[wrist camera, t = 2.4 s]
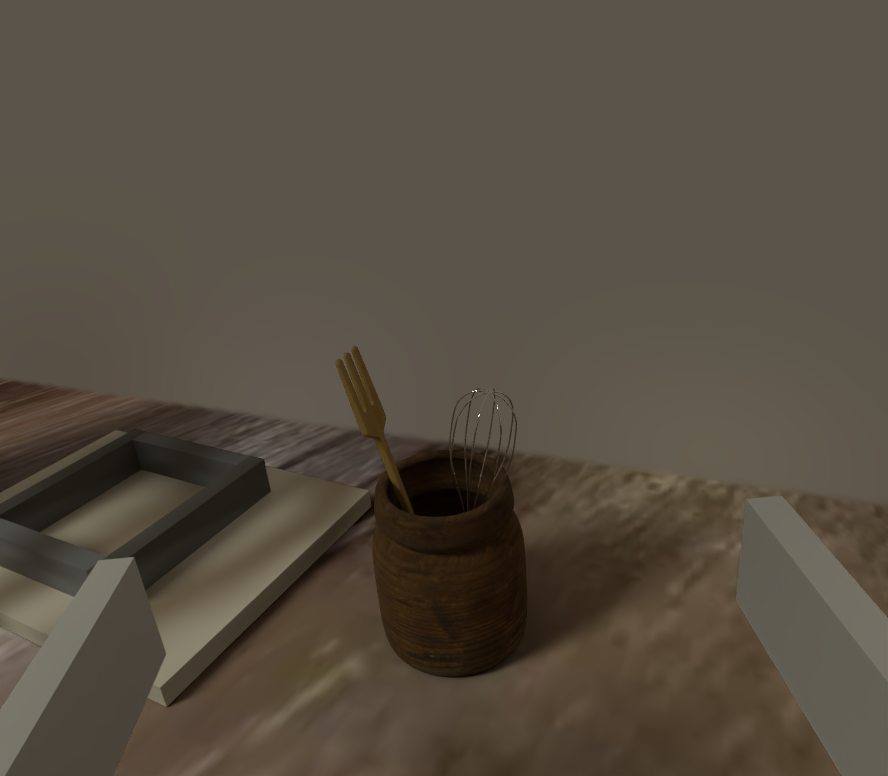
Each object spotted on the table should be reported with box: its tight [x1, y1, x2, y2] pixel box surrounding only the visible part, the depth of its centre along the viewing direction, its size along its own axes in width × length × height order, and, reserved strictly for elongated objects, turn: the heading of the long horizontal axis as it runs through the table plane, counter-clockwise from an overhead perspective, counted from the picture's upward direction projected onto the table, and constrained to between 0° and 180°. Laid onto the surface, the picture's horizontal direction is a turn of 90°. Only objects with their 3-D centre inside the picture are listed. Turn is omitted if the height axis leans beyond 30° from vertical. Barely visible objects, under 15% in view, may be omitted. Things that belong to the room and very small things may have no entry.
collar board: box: [0, 429, 371, 707], centre depth 36 cm, size 20×14×3 cm
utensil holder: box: [336, 346, 527, 677], centre depth 26 cm, size 6×6×12 cm
